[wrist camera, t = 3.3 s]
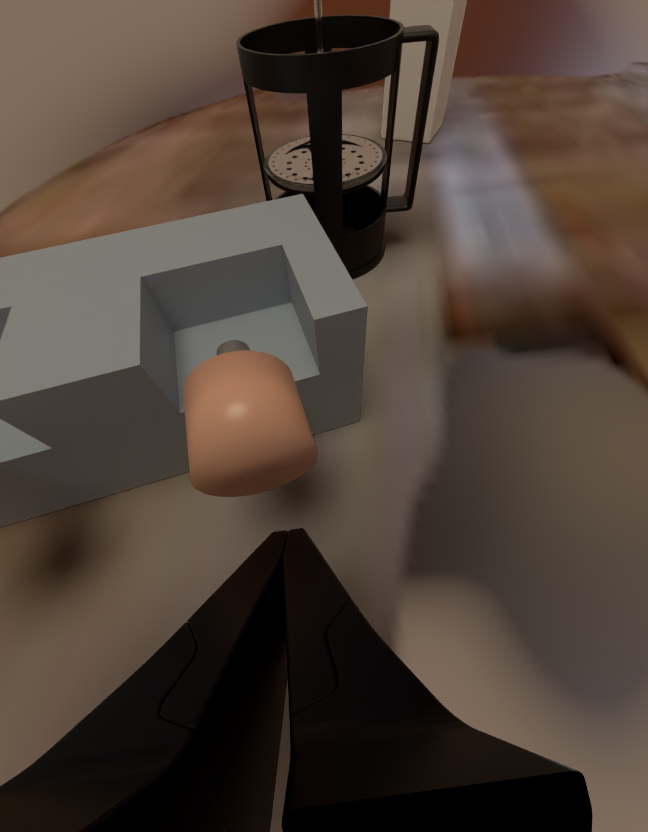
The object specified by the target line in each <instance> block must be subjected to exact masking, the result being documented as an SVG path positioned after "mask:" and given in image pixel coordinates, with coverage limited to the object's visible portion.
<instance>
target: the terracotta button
mask: <svg viewBox="0 0 648 832" xmlns="http://www.w3.org/2000/svg"><path fill="white" fill-rule="evenodd" d="M216 354H217V356H214V357H212V358H210V359H208V360H206V361H204V362H202V363H201V364H200V365H198V366H197V367H196V368H195V369H194V370H193V371H191V373H190V374H189V375H188V377H187V379H186V380H185V383H184V386H183V397H184V409H185V421H186V433H187V445H188V457H189V469H190V480H191V483H192V485H193V486H194V487H195V489H197V490H198V491H200V492H202V493H205V494H208V495H213V496H220V497H237V496H247V495H253V494H258V493H262V492H266V491H269V490H272V489H275V488H278V487H281V486H283V485H285V484H288V483H290V482H292V481H294V480H295V479H297V478H299V477H300V476H302V475H303V474H304V473H306V472H307V471H308V470H309V469H310V468H311V467H312V466H313V465H314V463H315V461H316V459H317V456H318V451H317V448H316V445H315V442H314V439H313V436H312V433H311V430H310V427H309V424H308V421H307V418H306V415H305V411H304V408H303V405H302V402H301V399H300V396H299V393H298V390H297V387H296V384H295V381H294V378H293V375H292V372H291V370H290V368H289V367H288V366H287V364H286V363H284V362H283V361H282V360H280V359H279V358H277V357H275V356H273V355H271V354H267V353H264V352H259V351H250V348H249V346H248V345H247V344H246V343H244V342H242V341H239V340H230V341H226V342H224V343H222V344H221V345H220V346H219V347H218V349H217V352H216Z"/></svg>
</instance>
